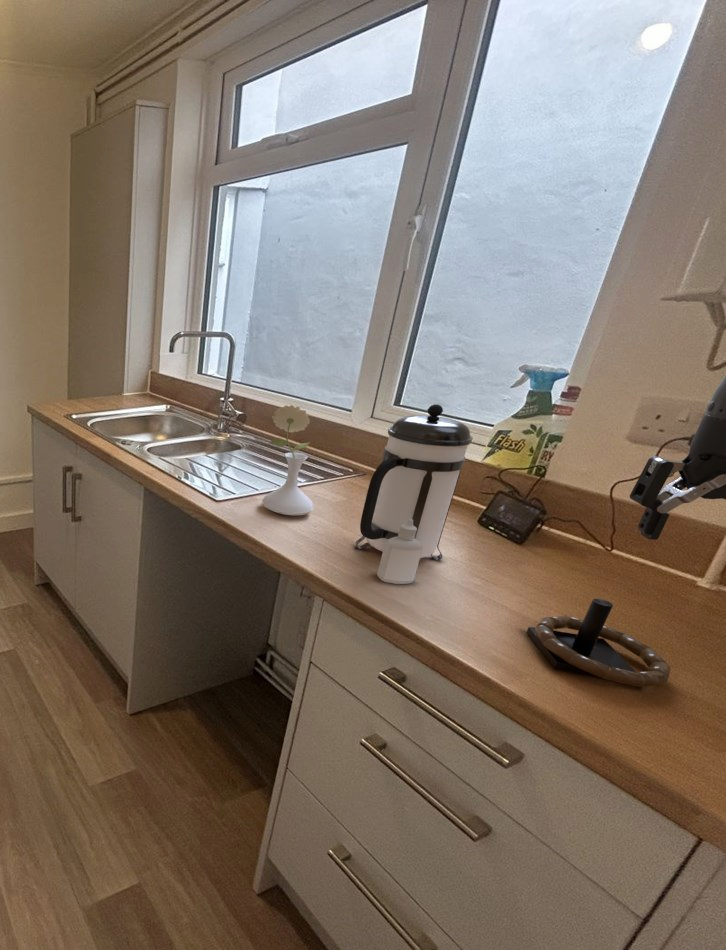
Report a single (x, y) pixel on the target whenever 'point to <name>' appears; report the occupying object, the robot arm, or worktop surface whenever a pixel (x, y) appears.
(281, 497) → the flower in vase
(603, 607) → the stand
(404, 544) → the eye dropper bottle
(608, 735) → the worktop surface
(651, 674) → the ring
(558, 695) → the worktop surface
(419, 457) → the coffee press
